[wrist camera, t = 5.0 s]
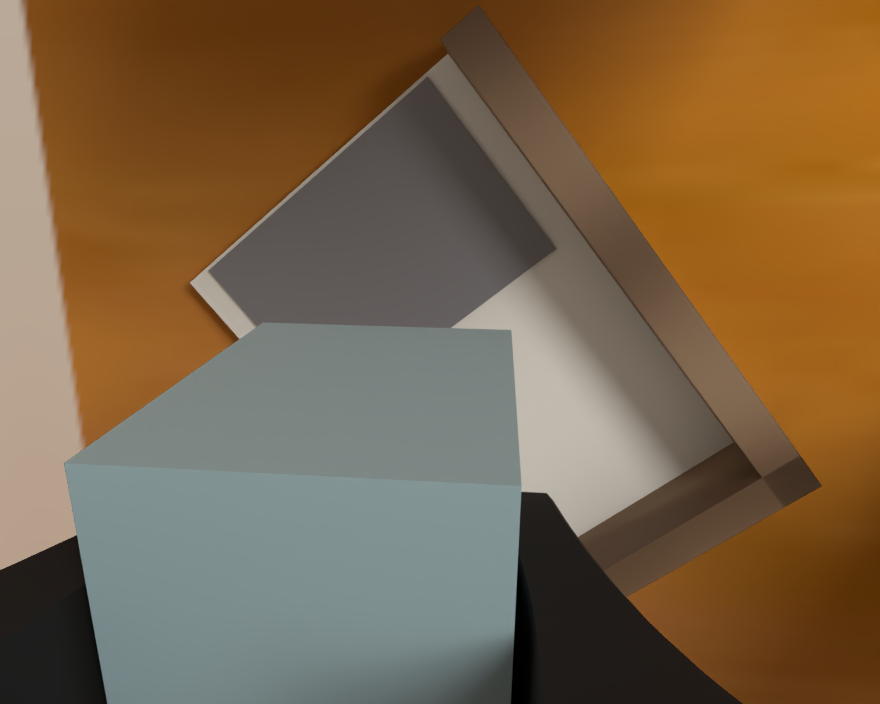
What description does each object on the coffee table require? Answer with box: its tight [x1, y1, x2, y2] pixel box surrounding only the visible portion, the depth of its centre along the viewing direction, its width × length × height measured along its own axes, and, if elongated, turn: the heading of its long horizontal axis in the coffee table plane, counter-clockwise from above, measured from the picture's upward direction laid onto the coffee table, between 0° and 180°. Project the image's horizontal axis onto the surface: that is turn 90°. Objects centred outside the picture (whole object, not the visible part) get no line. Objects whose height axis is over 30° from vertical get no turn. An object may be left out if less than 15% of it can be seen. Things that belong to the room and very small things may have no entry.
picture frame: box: [190, 5, 822, 597], centre depth 17 cm, size 14×10×2 cm
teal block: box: [64, 322, 522, 704], centre depth 9 cm, size 6×4×5 cm, turn 0°
